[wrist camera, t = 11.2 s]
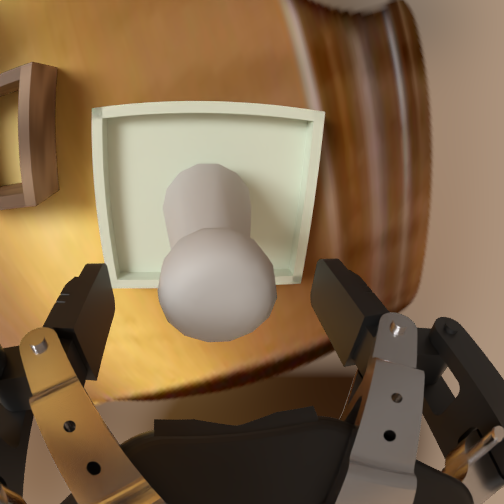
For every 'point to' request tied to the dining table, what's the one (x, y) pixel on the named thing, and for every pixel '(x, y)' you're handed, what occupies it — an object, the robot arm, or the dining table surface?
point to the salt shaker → (213, 257)
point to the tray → (202, 152)
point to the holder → (33, 134)
